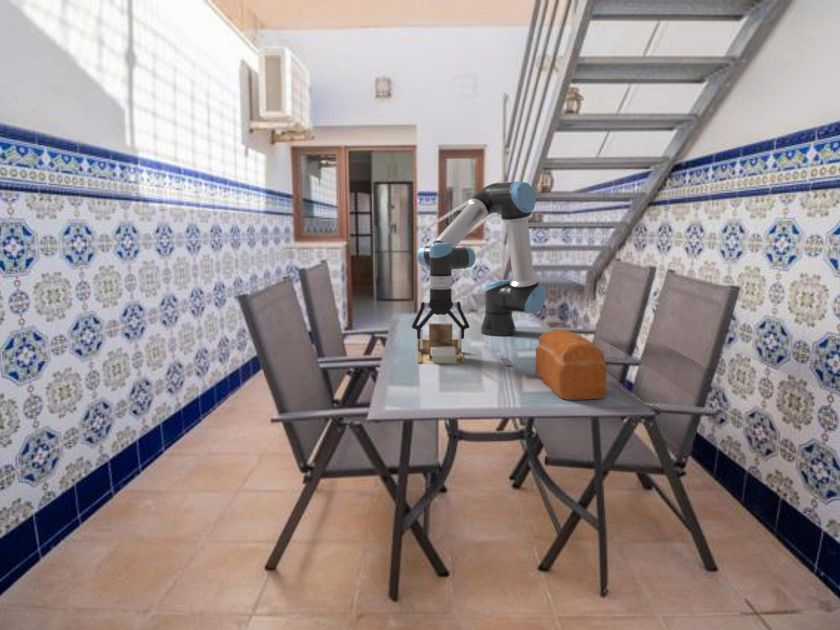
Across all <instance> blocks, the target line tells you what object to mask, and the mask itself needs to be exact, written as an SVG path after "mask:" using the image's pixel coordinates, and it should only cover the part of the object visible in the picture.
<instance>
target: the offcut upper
mask: <svg viewBox="0 0 840 630" xmlns="http://www.w3.org/2000/svg"><path fill="white" fill-rule="evenodd" d="M431 355H432V356H455V347H454V346H442V347H431Z"/></svg>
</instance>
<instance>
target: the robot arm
mask: <svg viewBox="0 0 840 630" xmlns="http://www.w3.org/2000/svg"><path fill="white" fill-rule="evenodd" d="M536 198H537V196H536V192H535V190H534V188H533V186H532V185H530V183H528V182H526V181H508V182H495V183H490V184H488V185H486V186H484V187H483V188H481V189H480V190H478V191H477V192H476V193H475V194H474V195H473V196H472V197H471V198H470V199H469V200H468V201H467V202H466V206H465V208H464V209H462V211H461V212H460V213H459V214H458V215H457V216H456V217H455V218H454V219H453V220H452V221H451V222H450V224H449V225H447V227H446V228H445V229H444V230H443V231H442V232H441V233H440V234H439V235H438V236H437V237H436V238H435V239H434V241H433V242H431V244H430V245H424V246H421V247H420V248H419V249H418V250H417V255H416V256H417V261H418V263H419V264H420V265H421V266H423V267H428V268H429V287H430V289H429V302H425V301H421V302H420V308H419V309H418V312H417V315H416V316H415V318H414V321H413V323H412V325H411V329H414V330H416V339H417V340H418V339H420V349H423V339H424V337H423V335H424V333H423V331H424V329H423V327H424V326H425V325H426V323H428V321H429V320H430V319H431V318H432V316H434V315H436V316H439V315H442V316H445V315H447V314H448V316H449V317H450V318H451V319H452V321H453V322H454V323H455V324H456V325H457V326H458V330H457V331H458V332H457V336H458V337H457V339H458V348H459V349H461V350H462V340H464V339H465V330H467V329H469V328H470V324H469V322H468V320H467V318H466V316H465V314H464V312H463V310H462V303H461V302H460V301H459V300H458V301H456V302H455V301H454V302H453V299H452V295H453V294H452V293H453V292H452V291H453V290H452V286H453V284H452V282H453V281H452V273H453V271H452V270H462V269H464V270H465V269H469V268H471V267H473V266H474V265H475V262H476V253H475V251H474V250H473V248H471V247H465V246H462V247H457V246H458V245H459V244H460V243H461V242H462V241H463V240H464V238H465V237H466V236H467V235H468V234H469V233H470V231H471V230H472V229H473V228H474V227H475V226H476V225H477V224H478V223H479V222H480V221H481V220H483V219H484V220H485V218H487V217H488V216H489V215H491V214H496V213H497V214H499V213H500V216H501V220H502V222H503V221H504V223H505V225H506V234H507V241H508V249H509V256H510V257H509V258H510V265H511V266H510V267H511V274H512V279H502V280H491V281H487V283H486V284H485V291H484V293H485V295H484V296H485V297H484V299H485V301H484V303H485V310H484V311H485V313H484V314H485V315H484V316H483V321H482V323H481V326H480V333H481V334H484V335H488V336H495V337H496V336H497V337H499V336H500V337H501V336H502V337H503V336H511V335H514V334H516V331H517V330H516V329H517V328H516V325H515V322H514V319H513V312H517V313H525V314H537V313H538V312H540V311H541V310H542V308H543V307H544V305H545V302H546V297H547V296H546V295H547V294H546V293H547V292H546V289H545V288H544V286H542V285H540V284H539V279H538V278H537V277H536V276H535V274H534V265H533V255H532V246H531V237H530V229H529V228H530V227H529V218H530V217H531V216H532V211H534V209H535V207H536V203H537V199H536ZM427 307H429V308H430V310H429V312H428V313H427V315H426V316H424V318H423V319H422V320H421V322H420V323H419V321H420V319H421V316H422V314H423V312H424V310H425V309H427ZM453 307H454V308H455V309H456V310H457V311H458V313H459V316H460V318H461V320H462V322H463V323H462V322H460V320H459V319H458V318H457V316H456V315H455V314H454V313H453V312H452V308H453ZM418 323H419V324H418Z"/></svg>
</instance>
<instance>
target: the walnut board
mask: <svg viewBox="0 0 840 630" xmlns="http://www.w3.org/2000/svg"><path fill="white" fill-rule="evenodd" d="M428 339H429V359H433V356H432V355H431V347H442V346H452V339H453V323H451V322H450V323H449V322H448V323H445V322H442V323H440V322H439V323H438V322H437V323H431V322H430V323H428Z"/></svg>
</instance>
